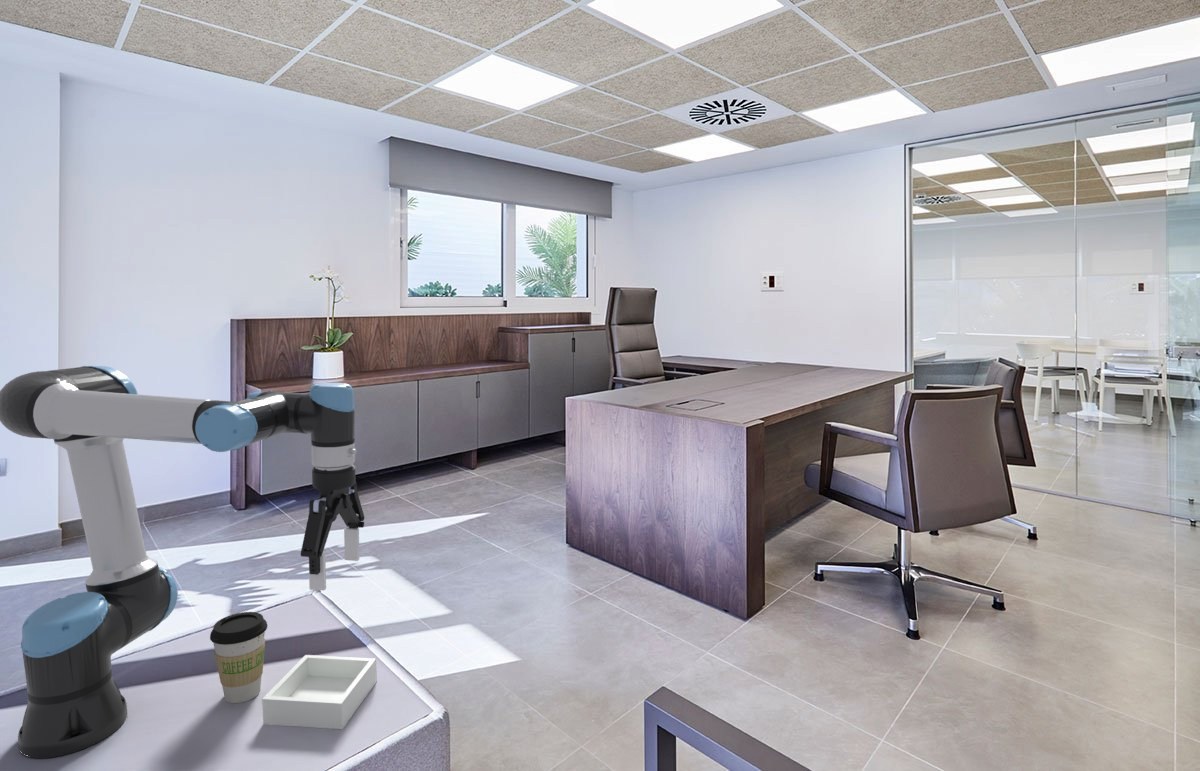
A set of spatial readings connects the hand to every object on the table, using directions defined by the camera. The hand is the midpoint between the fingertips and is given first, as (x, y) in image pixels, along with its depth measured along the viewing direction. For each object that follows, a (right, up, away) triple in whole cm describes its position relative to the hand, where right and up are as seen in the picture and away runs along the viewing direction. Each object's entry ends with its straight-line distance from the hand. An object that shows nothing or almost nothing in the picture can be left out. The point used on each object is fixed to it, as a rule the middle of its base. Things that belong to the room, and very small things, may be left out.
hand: (335, 573), depth 122 cm
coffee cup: (-20, -25, +4) cm, 33 cm away
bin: (-3, -26, +2) cm, 26 cm away
